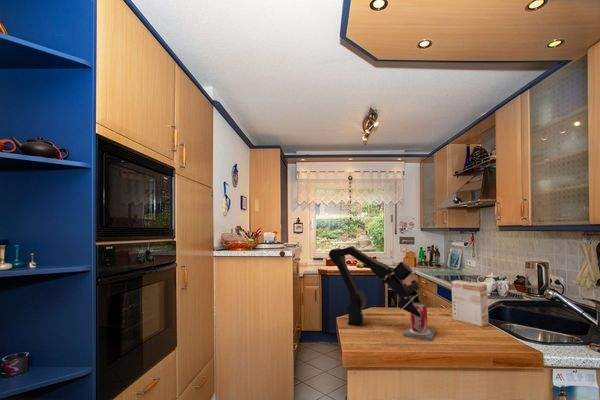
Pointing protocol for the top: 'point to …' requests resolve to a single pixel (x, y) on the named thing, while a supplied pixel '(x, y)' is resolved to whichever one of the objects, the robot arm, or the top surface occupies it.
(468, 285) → the coffeecake box
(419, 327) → the soda can
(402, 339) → the top surface
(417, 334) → the dock pad
